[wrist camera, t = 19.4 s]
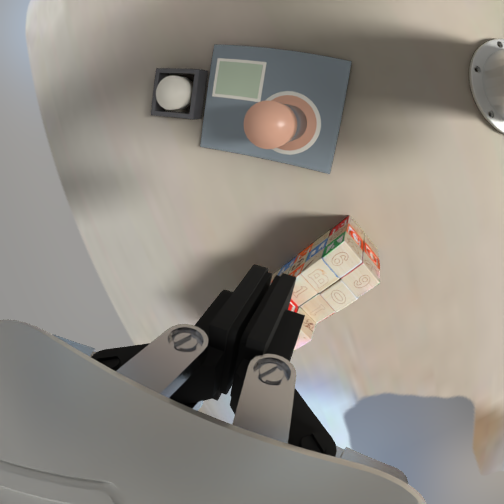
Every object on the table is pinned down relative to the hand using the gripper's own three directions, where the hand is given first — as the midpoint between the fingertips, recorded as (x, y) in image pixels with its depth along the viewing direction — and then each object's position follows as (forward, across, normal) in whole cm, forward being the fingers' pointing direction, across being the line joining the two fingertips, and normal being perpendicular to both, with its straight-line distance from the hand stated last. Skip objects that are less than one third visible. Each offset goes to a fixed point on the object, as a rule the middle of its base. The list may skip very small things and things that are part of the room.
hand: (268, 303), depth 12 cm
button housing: (+29, +22, -7) cm, 37 cm away
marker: (+28, +6, -5) cm, 29 cm away
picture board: (+29, +9, -7) cm, 31 cm away
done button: (+28, +21, -7) cm, 36 cm away
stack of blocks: (+29, 0, +15) cm, 33 cm away
